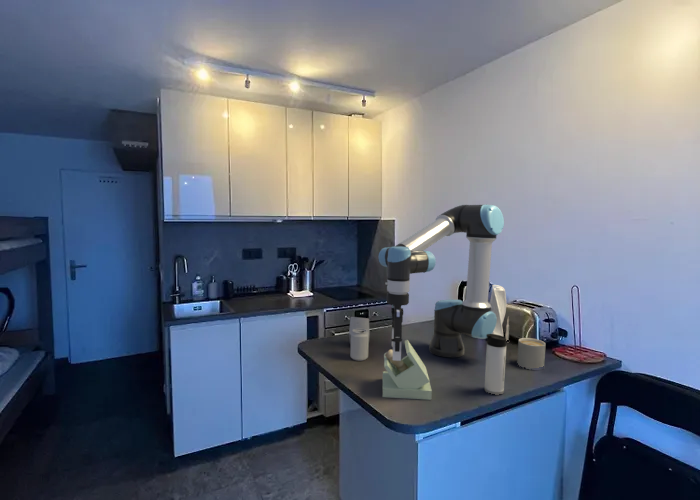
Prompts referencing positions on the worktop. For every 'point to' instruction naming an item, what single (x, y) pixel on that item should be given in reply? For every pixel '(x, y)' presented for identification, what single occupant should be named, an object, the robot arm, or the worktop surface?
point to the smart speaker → (358, 325)
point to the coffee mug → (531, 353)
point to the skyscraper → (499, 309)
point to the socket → (407, 378)
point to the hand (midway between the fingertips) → (395, 353)
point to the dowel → (398, 364)
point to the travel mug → (495, 364)
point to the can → (359, 344)
